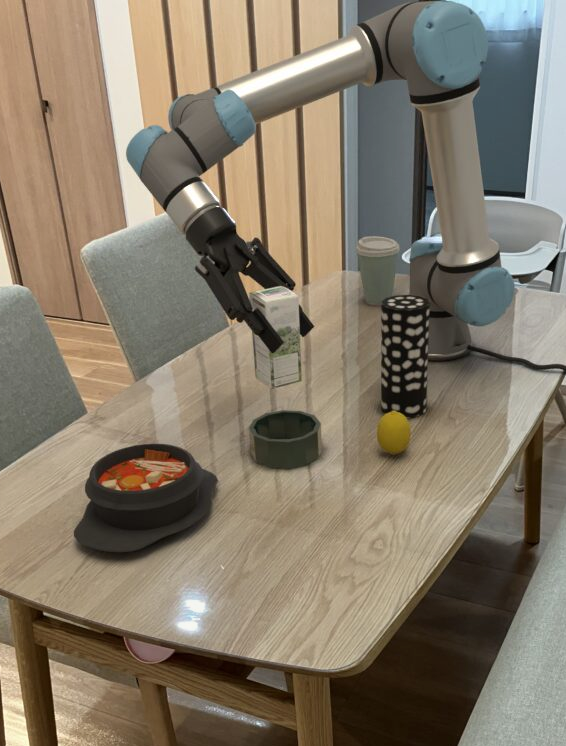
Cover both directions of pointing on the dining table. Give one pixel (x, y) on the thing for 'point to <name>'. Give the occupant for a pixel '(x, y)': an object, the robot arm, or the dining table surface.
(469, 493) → the dining table surface
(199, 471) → the casserole
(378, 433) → the lemon
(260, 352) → the syrup box
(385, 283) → the disposable coffee cup
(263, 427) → the crock
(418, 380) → the white-spotted black cylinder
